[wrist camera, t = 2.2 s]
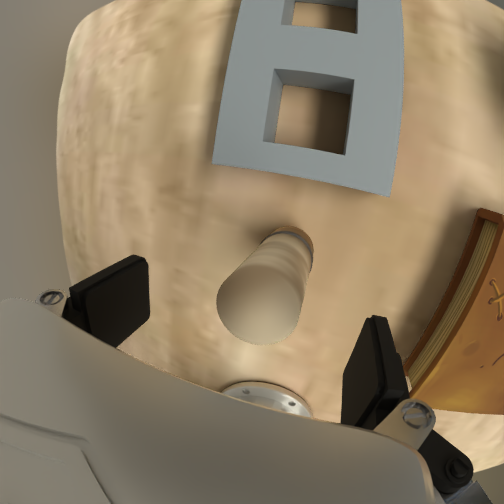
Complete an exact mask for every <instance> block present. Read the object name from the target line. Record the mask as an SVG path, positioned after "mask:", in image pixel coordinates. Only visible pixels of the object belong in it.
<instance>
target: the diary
mask: <svg viewBox="0 0 504 504" xmlns="http://www.w3.org/2000/svg"><path fill="white" fill-rule="evenodd" d="M403 369H404V373H405V376H409V379H410V383H411V387H412V390H411V391H410V392H409V396H410V399H418V400H421V401H423V402H425V403H427V404H428V405H429V406H430V407H431V408H432V409H439V410H447V411H456V412H466V413H478V414H497V415H504V215H502V214H500V213H497V212H493V211H490V210H487V209H483V208H480V209H479V210H478V211H477V213H476V217H475V220H474V223H473V226H472V229H471V232H470V235H469V238H468V241H467V243H466V246H465V249H464V251H463V254H462V256H461V259H460V261H459V264H458V266H457V269H456V271H455V273H454V275H453V278H452V280H451V282H450V284H449V286H448V289H447V291H446V293H445V295H444V297H443V299H442V301H441V303H440V305H439V307H438V309H437V311H436V312H435V314H434V316H433V318H432V320H431V322H430V323H429V325H428V327H427V329H426V330H425V332H424V334H423V336H422V337H421V339H420V341H419V342H418V344H417V345H416V347H415V349H414V350H413V352H412V353H411V355H410V356H409V358H408V359H407V361H406V362H405V364H404V365H403Z"/></svg>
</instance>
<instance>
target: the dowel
mask: <svg viewBox="0 0 504 504" xmlns="http://www.w3.org/2000/svg"><path fill="white" fill-rule="evenodd" d="M313 252H314V249H313V244H312V241H311V239H310V237H309V236H308V235H307V234H306V233H305V232H304V231H303V230H301V229H299V228H296V227H292V226H285V227H281V228H278V229H276V230H275V231H274V232H272V233H271V234H270V235H269V236H267V237H266V238H265V239H264V240H263V241H262V242H261V244H260V245H259V247H258V248H257V249H256V250H255V251H254V252H253V253H252V254H251V255H250V256H249V257H248V258H247V259H246V260H245V261H244V262H243V263H242V264H241V265H240V266H239V267H238V268H237V269H236V270H235V271H234V272H233V273H232V274H231V275H230V276H229V277H228V278H227V279H226V280H225V281H224V282H223V284H222V285H221V287H220V289H219V291H218V294H217V303H216V304H217V311H218V314H219V317H220V319H221V321H222V323H223V324H224V325H225V327H226V328H227V329H228V330H229V331H230V332H231V333H232V334H233V335H235V336H236V337H237V338H239V339H241V340H243V341H245V342H248V343H251V344H256V345H270V344H275V343H278V342H280V341H282V340H284V339H285V338H287V337H288V336H289V335H290V334H291V333H292V332H293V330H294V329H295V327H296V325H297V323H298V319H299V315H300V311H301V307H302V303H303V299H304V294H305V290H306V286H307V281H308V277H309V273H310V271H311V268H312V263H313Z"/></svg>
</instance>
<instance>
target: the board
mask: <svg viewBox="0 0 504 504" xmlns="http://www.w3.org/2000/svg"><path fill="white" fill-rule="evenodd" d="M295 2H306V3H318V4H326V5H334V6H341V7H347V8H353V9H356V29H355V34H354V33H349V32H344V31H337V30H331V29H323V28H315V27H305V26H292V19H293V12H294V5H295ZM403 83H404V34H403V17H402V6H401V0H242V1H241V5H240V9H239V14H238V18H237V22H236V27H235V31H234V36H233V41H232V46H231V50H230V55H229V61H228V66H227V71H226V76H225V82H224V87H223V93H222V99H221V105H220V111H219V117H218V124H217V130H216V137H215V144H214V151H213V158H212V164H216V165H225V166H232V167H240V168H247V169H254V170H261V171H267V172H273V173H279V174H285V175H291V176H296V177H302V178H307V179H312V180H317V181H322V182H327V183H332V184H336V185H341V186H345V187H350V188H354V189H358V190H362V191H366V192H370V193H374V194H378V195H382V196H386V197H390V193H391V187H392V182H393V176H394V170H395V164H396V157H397V150H398V143H399V134H400V125H401V115H402V102H403ZM283 85H291V86H299V87H307V88H314V89H321V90H327V91H333V92H338V93H344V94H349V95H351V97H350V106H349V114H348V122H347V130H346V137H345V144H344V150H343V155H340V154H335V153H330V152H325V151H320V150H315V149H309V148H304V147H298V146H291V145H285V144H278V143H274V141H275V135H276V128H277V121H278V115H279V108H280V101H281V95H282V88H283Z"/></svg>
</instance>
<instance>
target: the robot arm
mask: <svg viewBox="0 0 504 504" xmlns="http://www.w3.org/2000/svg"><path fill="white" fill-rule="evenodd" d="M69 290H70V296H71V297H69V298H67V294H66V292H64V291H63V290H60V289H51V290H47V291H45V292H42V293H41V294H40V295H39V296H38V297H37V299H36V301H35V302H32V301H29V300H26V299H20V298H8V299H5V300H3V301H0V504H493V503H492V502H491V500H490V499H489V498H488V496H487V495H486V493H485V491H484V490H483V489H482V487H481V486H480V484H479V483H478V482H477V481H475V482H474V483H473V481H472V480H471V479H472V476H473V465H472V463H471V461H470V459H469V458H468V457H467V456H466V455H465V454H463V453H462V452H461V451H460V450H458V449H457V448H456V447H454V446H453V445H452V444H451V443H449V442H448V441H447V440H446V439H444V438H443V437H442V436H440V435H439V434H438V433H437V432H435V431H434V430H433V427H434V425H435V422H436V417H435V414H434V411H433V410H432V408H431V407H430V406H429V405H428V404H427V403H425V402H423V401H421V400H418V399H410V396H409V391H408V386H407V382H406V378H405V373H404V369H403V365H402V361H401V358H400V355H399V353H396V349H395V345H394V341H393V338H392V334H391V331H390V327H389V324H388V320H387V318H386V317H381V316H376V315H372V317H371V318H366V320H365V322H364V325H363V328H362V330H361V333H360V335H359V337H358V340H357V342H356V345H355V347H354V349H353V352H352V354H351V356H350V358H349V361H348V363H347V365H346V367H345V370H344V373H343V386H342V409H341V424H340V423H334V422H329V421H325V420H320V419H316V418H313V415H312V412H311V409H310V407H309V406H308V405H307V403H306V402H305V401H304V400H303V399H302V398H300V397H299V396H298V395H296V394H295V393H293V392H291V391H289V390H287V389H285V388H282V387H279V386H276V385H273V384H268V383H263V382H242V383H237V384H234V385H231V386H229V387H227V388H226V389H224V390H223V391H222V392H221V393H219V392H217V391H214V390H211V389H208V388H205V387H203V386H200V385H197V384H195V383H192V382H189V381H187V380H184V379H182V378H179V377H177V376H174V375H172V374H170V373H167V372H165V371H163V370H160V369H158V368H156V367H154V366H151V365H149V364H147V363H145V362H143V361H141V360H139V359H136V358H134V357H132V356H130V355H128V354H126V353H124V352H122V351H120V350H118V349H116V347H117V346H119V345H120V344H121V343H122V342H123V341H124V340H125V339H126V338H128V337H129V336H130V335H131V334H132V333H133V332H134V331H136V330H137V329H138V328H139V327H140V326H141V325H143V324H144V323H145V322H146V321H147V320H148V319H149V316H150V301H149V273H148V263H147V262H146V259H145V258H144V257H140V256H137V255H131V256H129V257H127V258H125V259H123V260H121V261H119V262H117V263H115V264H113V265H111V266H109V267H107V268H105V269H103V270H102V271H100V272H98V273H96V274H94V275H92V276H90V277H88V278H86V279H85V280H83V281H81V282H79V283H77V284H75V285H74V286H72V287H70V288H69Z"/></svg>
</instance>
